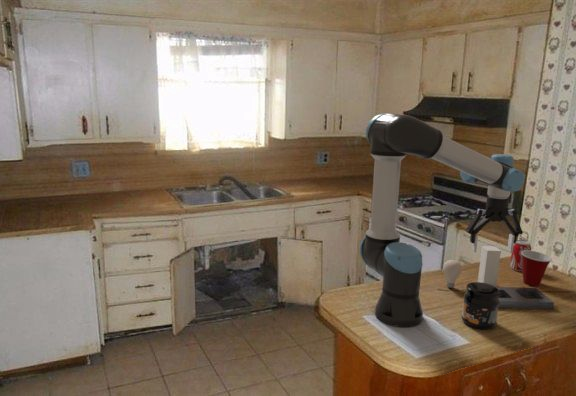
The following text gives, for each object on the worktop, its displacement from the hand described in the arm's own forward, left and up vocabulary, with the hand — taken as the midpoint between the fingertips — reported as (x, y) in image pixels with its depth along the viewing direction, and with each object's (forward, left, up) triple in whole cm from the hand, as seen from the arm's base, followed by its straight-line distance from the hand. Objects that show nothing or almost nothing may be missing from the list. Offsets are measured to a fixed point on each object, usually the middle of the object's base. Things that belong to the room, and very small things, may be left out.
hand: (491, 251), depth 173 cm
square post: (0, 0, -14) cm, 14 cm away
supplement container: (-15, -30, -14) cm, 37 cm away
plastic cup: (+19, +3, -14) cm, 24 cm away
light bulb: (-15, -3, -14) cm, 21 cm away
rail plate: (+4, -13, -14) cm, 19 cm away
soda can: (+21, +18, -14) cm, 31 cm away
